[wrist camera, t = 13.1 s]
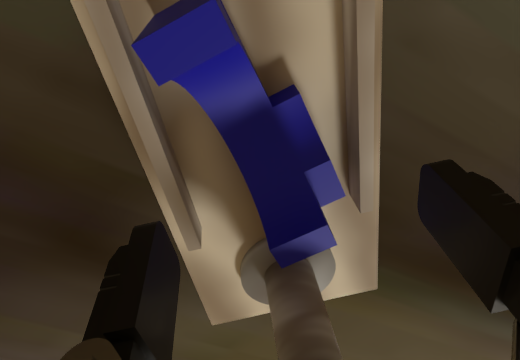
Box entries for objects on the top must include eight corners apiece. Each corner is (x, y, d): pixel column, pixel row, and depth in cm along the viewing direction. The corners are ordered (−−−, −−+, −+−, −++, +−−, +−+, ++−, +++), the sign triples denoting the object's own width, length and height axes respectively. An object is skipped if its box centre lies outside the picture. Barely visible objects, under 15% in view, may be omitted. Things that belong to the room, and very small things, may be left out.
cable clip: (330, 167, 22) (366, 232, 17) (265, 197, 23) (281, 268, 18) (242, -36, 15) (258, -28, 10) (154, 14, 16) (131, 45, 11)
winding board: (371, -135, 15) (684, -291, 5) (370, 274, 30) (450, 435, 20) (53, -67, 15) (-242, -91, 5) (211, 309, 30) (214, 488, 20)
